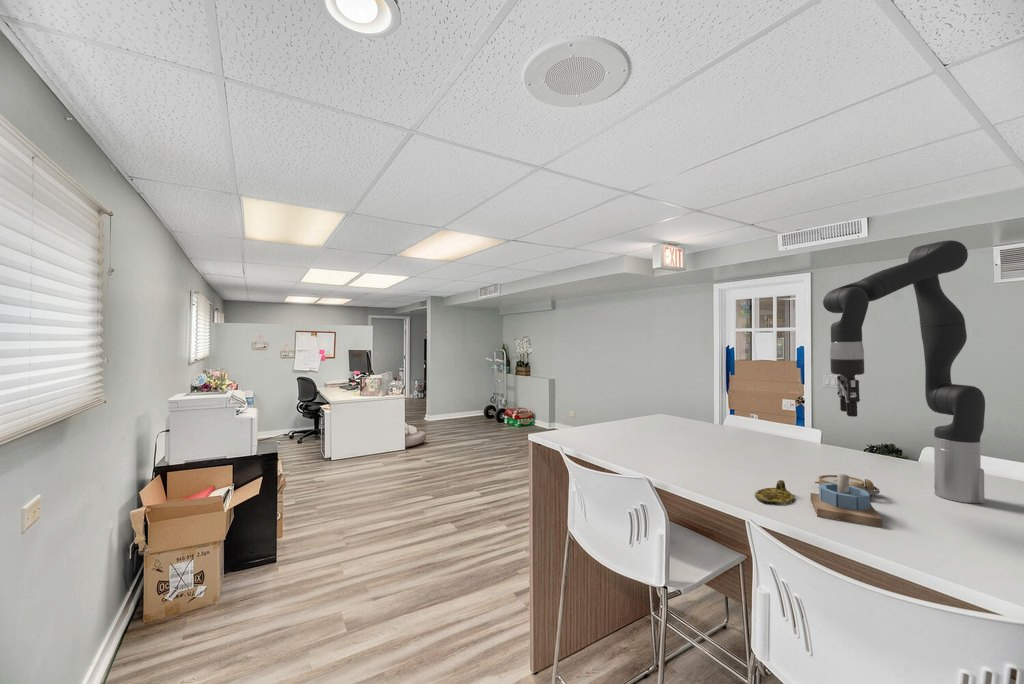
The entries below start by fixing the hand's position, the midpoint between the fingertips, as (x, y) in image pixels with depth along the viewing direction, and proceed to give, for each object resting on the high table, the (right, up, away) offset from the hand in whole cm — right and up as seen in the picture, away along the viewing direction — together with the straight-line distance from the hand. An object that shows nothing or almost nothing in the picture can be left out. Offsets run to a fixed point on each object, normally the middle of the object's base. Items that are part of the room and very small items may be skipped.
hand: (848, 413), depth 118 cm
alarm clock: (+6, -26, +8) cm, 28 cm away
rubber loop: (-6, -23, -6) cm, 25 cm away
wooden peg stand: (-7, -25, -7) cm, 27 cm away
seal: (-19, -26, +4) cm, 32 cm away
